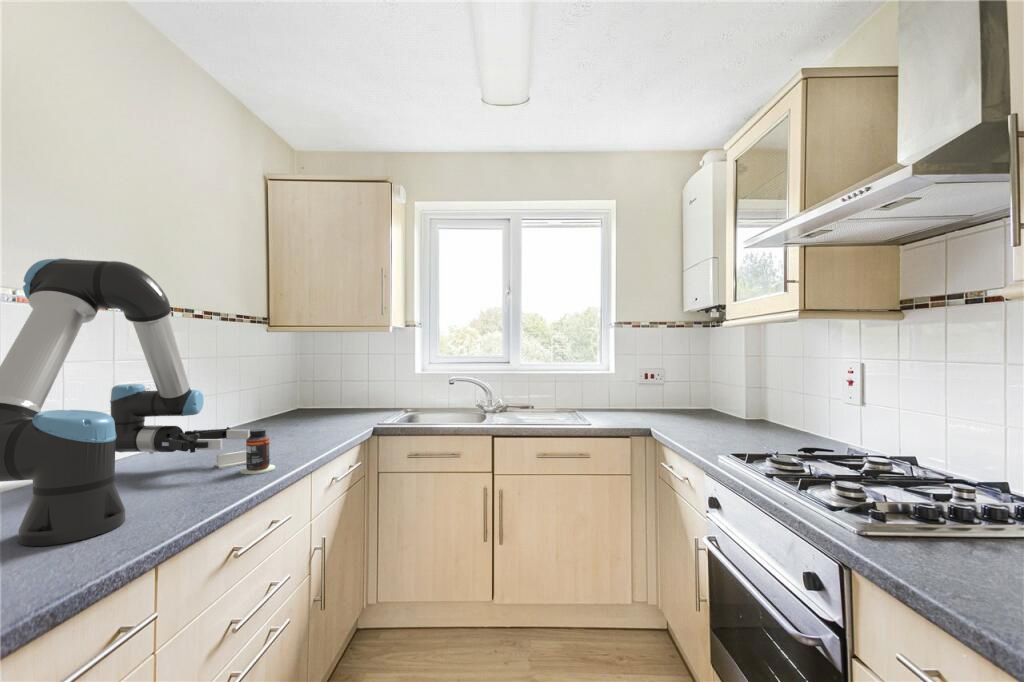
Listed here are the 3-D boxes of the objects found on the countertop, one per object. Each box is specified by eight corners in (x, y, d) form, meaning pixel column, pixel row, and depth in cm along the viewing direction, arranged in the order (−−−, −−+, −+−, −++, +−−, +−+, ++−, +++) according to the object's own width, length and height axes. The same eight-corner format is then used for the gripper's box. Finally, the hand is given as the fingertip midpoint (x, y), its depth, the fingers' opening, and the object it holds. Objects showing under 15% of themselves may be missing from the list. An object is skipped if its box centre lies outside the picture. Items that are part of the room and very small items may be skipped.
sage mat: (280, 469, 132) (280, 468, 132) (246, 476, 125) (246, 474, 125) (268, 464, 138) (268, 462, 138) (235, 470, 131) (235, 468, 131)
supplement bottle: (267, 464, 136) (267, 426, 136) (271, 468, 131) (271, 430, 131) (244, 467, 132) (244, 429, 132) (247, 472, 127) (248, 432, 127)
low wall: (270, 459, 143) (270, 448, 143) (219, 468, 133) (219, 456, 133) (264, 457, 146) (264, 446, 146) (214, 465, 136) (214, 454, 136)
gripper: (190, 442, 143) (258, 442, 144) (125, 463, 118) (207, 463, 119) (191, 418, 143) (258, 419, 144) (126, 434, 119) (208, 435, 119)
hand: (235, 439), depth 132 cm, fingers open, 13 cm apart
